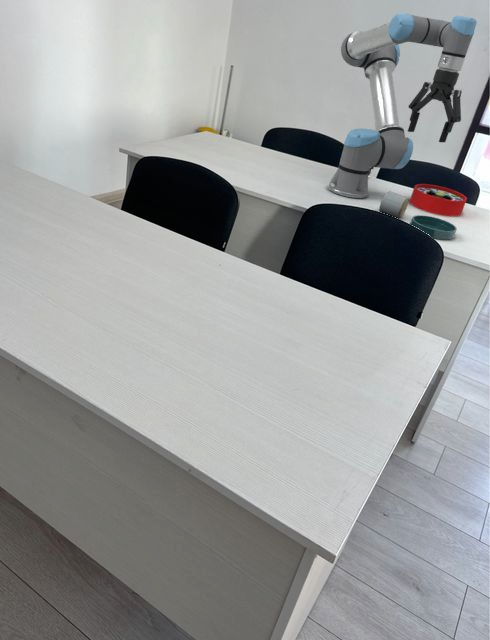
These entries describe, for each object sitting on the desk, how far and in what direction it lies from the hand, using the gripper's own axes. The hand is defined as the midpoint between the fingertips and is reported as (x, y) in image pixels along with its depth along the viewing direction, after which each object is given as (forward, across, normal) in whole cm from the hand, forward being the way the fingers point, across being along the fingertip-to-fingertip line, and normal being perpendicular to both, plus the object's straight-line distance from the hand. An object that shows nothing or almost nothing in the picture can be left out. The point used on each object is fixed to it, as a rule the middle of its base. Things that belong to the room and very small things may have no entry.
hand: (425, 136), depth 202 cm
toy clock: (+27, 0, +21) cm, 34 cm away
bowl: (+27, +19, -7) cm, 34 cm away
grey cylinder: (+27, +2, -8) cm, 28 cm away
